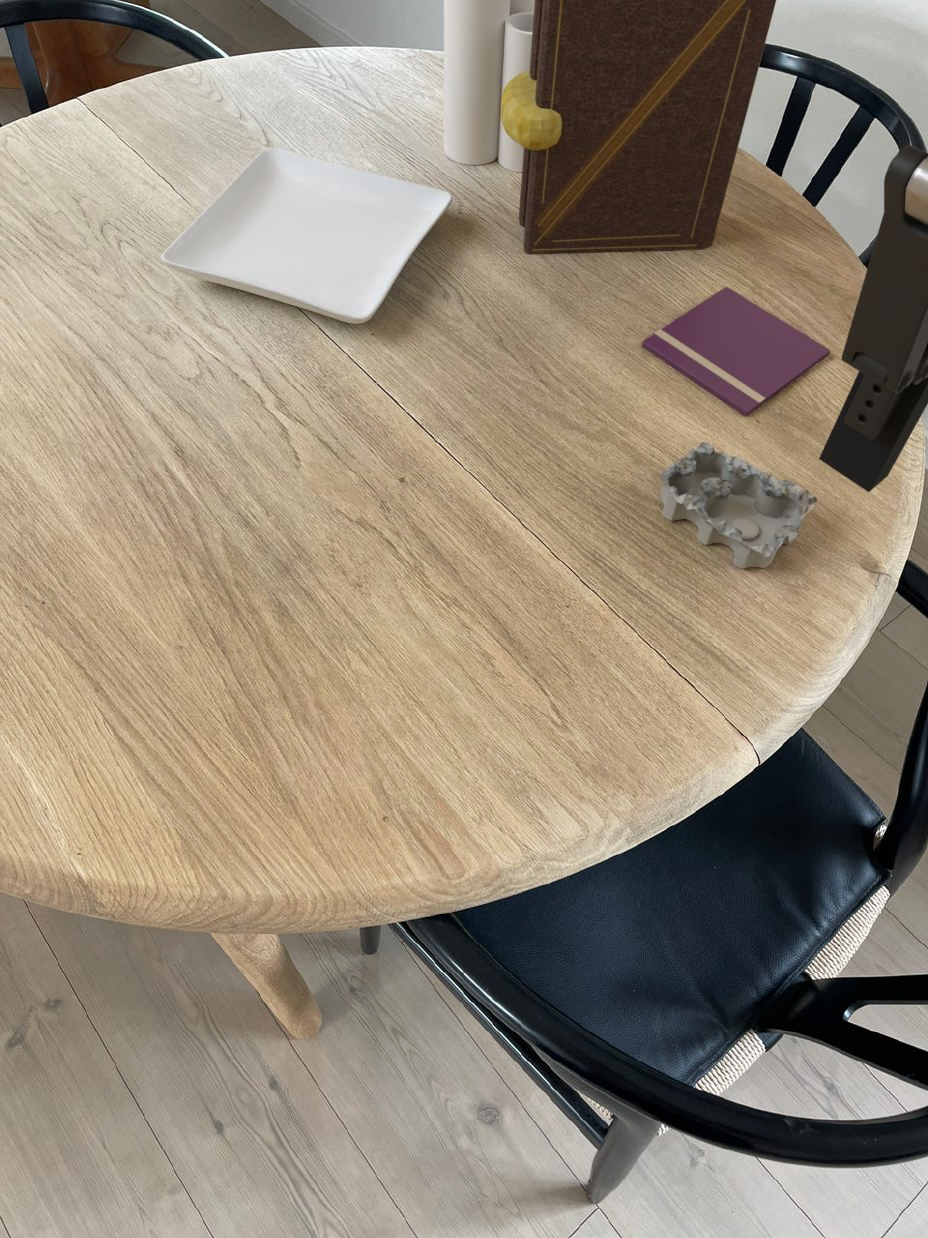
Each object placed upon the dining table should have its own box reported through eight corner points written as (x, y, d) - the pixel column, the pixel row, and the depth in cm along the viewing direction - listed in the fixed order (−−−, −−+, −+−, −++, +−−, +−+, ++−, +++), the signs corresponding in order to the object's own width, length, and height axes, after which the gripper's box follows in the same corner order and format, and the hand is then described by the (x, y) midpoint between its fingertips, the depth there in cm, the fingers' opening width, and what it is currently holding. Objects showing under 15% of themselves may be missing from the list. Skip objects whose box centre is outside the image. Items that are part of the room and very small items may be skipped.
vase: (437, 161, 104) (437, -50, 88) (451, 125, 108) (453, -82, 92) (541, 175, 103) (560, -36, 87) (551, 139, 107) (571, -69, 91)
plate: (456, 219, 98) (457, 188, 96) (369, 349, 87) (367, 317, 84) (269, 172, 103) (265, 141, 100) (163, 290, 91) (154, 258, 88)
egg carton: (808, 534, 76) (826, 499, 73) (749, 586, 73) (765, 552, 70) (703, 459, 80) (715, 423, 77) (643, 504, 77) (652, 469, 74)
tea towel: (828, 355, 88) (831, 349, 87) (745, 417, 83) (748, 410, 83) (725, 291, 93) (726, 285, 92) (641, 346, 88) (642, 340, 88)
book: (702, 205, 101) (770, -73, 80) (720, 255, 96) (797, -26, 75) (490, 210, 100) (504, -71, 79) (498, 261, 95) (514, -24, 74)
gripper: (1156, -267, 29) (866, 361, 48) (908, -165, 24) (696, 492, 43) (1430, -196, 26) (1002, 444, 45) (1215, -61, 20) (837, 595, 40)
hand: (853, 467), depth 44 cm, fingers closed
